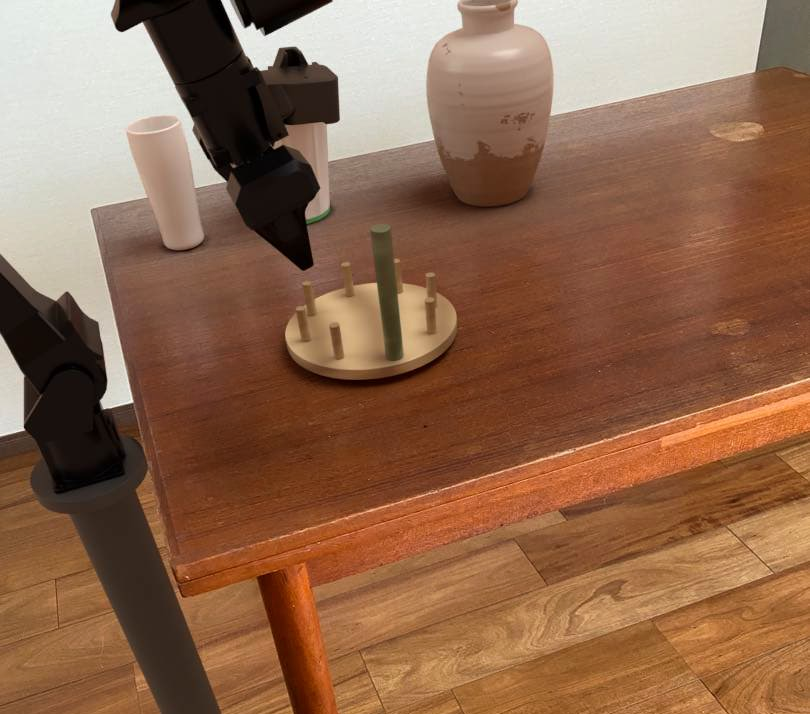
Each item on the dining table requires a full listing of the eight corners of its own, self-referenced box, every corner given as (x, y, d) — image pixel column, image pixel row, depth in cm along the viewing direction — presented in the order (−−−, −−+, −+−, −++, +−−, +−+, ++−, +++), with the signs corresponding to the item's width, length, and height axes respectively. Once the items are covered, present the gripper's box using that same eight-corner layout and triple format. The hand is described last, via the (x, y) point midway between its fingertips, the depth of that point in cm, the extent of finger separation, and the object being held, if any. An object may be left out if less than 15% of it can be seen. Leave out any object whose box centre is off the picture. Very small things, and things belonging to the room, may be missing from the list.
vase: (488, 227, 111) (483, 23, 96) (409, 196, 121) (393, 6, 106) (576, 188, 118) (584, -9, 102) (494, 161, 128) (491, -22, 112)
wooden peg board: (313, 398, 85) (286, 258, 75) (269, 317, 98) (241, 188, 88) (485, 350, 88) (480, 210, 79) (420, 278, 101) (410, 150, 92)
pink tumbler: (205, 252, 114) (174, 130, 103) (154, 256, 114) (118, 135, 104) (214, 230, 119) (185, 111, 108) (165, 234, 119) (132, 116, 109)
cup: (359, 216, 118) (343, 93, 107) (272, 241, 114) (247, 116, 104) (324, 187, 126) (306, 70, 116) (242, 210, 123) (216, 92, 112)
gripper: (341, 44, 59) (414, 245, 70) (273, -11, 72) (344, 166, 83) (192, 121, 59) (289, 311, 70) (152, 52, 72) (239, 221, 83)
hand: (293, 245), depth 76 cm, fingers open, 9 cm apart
